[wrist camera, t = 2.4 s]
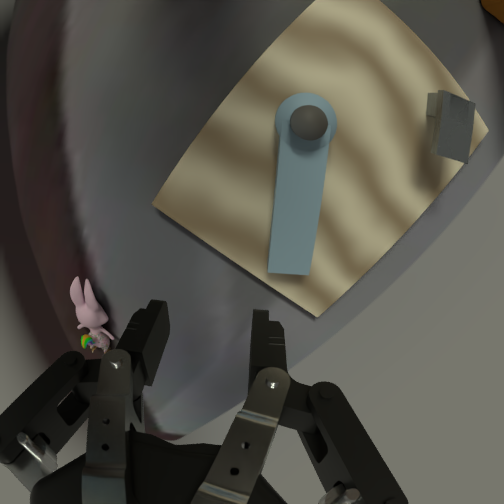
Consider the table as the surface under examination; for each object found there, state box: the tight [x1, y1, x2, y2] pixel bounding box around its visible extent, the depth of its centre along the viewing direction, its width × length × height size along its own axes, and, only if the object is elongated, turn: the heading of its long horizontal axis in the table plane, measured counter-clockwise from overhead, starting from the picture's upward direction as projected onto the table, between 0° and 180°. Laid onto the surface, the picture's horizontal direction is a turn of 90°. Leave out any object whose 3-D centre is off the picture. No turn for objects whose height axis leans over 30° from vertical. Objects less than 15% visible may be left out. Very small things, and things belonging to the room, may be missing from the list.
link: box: [267, 93, 337, 275], centre depth 25 cm, size 16×5×2 cm, turn 176°
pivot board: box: [152, 0, 489, 317], centre depth 24 cm, size 30×22×6 cm
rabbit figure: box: [70, 276, 114, 353], centre depth 34 cm, size 6×6×15 cm
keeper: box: [426, 90, 475, 164], centre depth 21 cm, size 4×6×4 cm, turn 176°
